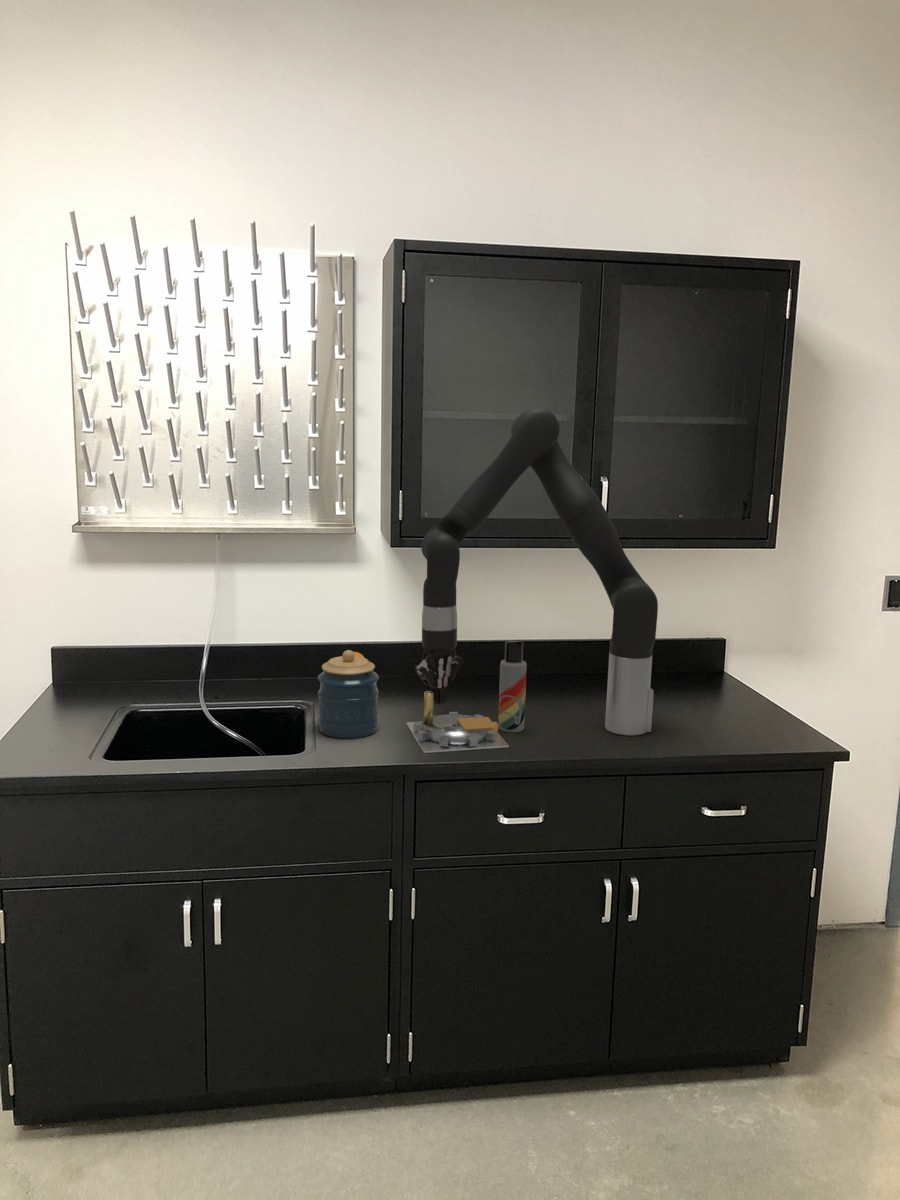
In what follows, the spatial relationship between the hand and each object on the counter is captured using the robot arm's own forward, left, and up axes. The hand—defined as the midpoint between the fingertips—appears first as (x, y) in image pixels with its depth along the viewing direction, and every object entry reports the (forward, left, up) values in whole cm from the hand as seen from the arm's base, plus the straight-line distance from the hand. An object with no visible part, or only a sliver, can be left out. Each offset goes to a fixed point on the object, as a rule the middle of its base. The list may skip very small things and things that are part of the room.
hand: (438, 703), depth 203 cm
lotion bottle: (-16, +2, -6) cm, 17 cm away
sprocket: (-3, +4, -6) cm, 8 cm away
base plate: (-3, +4, -6) cm, 8 cm away
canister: (+19, -4, -6) cm, 20 cm away
